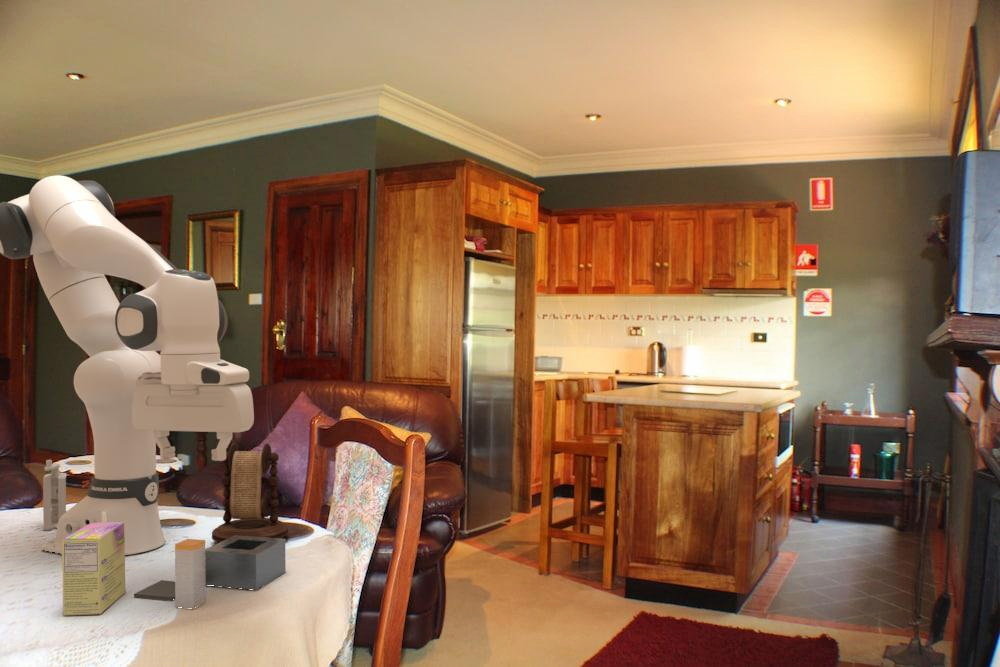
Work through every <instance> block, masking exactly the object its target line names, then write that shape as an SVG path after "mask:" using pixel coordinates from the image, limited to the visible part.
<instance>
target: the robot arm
mask: <svg viewBox="0 0 1000 667" xmlns="http://www.w3.org/2000/svg"><path fill="white" fill-rule="evenodd" d="M0 255H1V256H3V257H5V258H7V259H10V260H20V259H26V258H27V259H28V258H30V256H32V257H33V258H32V260H33V264H34V267H35V271H36V273H37V278H38V279H39V283H40V285H41V288H42V289H43V292H44V294H45V297H46V298H47V300H48V302H49V304H50V306H51V308H52V309H53V311H54V314H55V315H56V317H57V318H58V321H59V322H60V325H61V326H62V328H63V330H64V331H65V333H66V335H67V337H68V338H69V339H70V340H71V341H72V342H74V343H75V344H77V346H78V347H80V348H81V349H82V351H84V352H85V353H86V354H87V355H88V356H89V358H86V359H85V360H83V362H81V363H80V364H79V365H78V367H77V368H76V370H75V373H74V376H73V387H74V390H75V393H76V394H77V396H78V398H79V399H80V400H81V401H82V403H84V405H85V410H86V412H87V415H88V419H89V423H90V427H91V430H92V436H93V437H92V438H93V451H94V452H93V458H94V464H93V466H94V467H93V468H94V475H93V477H91V478H90V479H87V480H85V481H82V482H81V483H82V484H84V485H82V486H81V487H82V488H86V487H88V488H87V491H86V495H85V497H83V498H82V499H81V500H79V501H78V502H77V503H75V504H74V505H73V506H72V507H71V508H70V509H68V510H66V512H65V513H64V514H63V515H62V516H61V517H60V519H59V521H58V525H57V529H56V530H55V537H54V538H52V539H50V540H48V541H46V542H45V543H44V544H43V545H42V547H41V551H42V550H45V551H44V552H46V551H49V552H48V553H52V552H55V553H54V554H58V553H60V554H59V555H62V542H61V540H62V539H64V538H66V537H68V536H69V535H71V534H73V533H75V532H76V531H78V530H80V529H81V528H83V527H85V526H87V525H88V524H90V523H103V522H124V537H125V556H127V555H129V556H130V555H135V554H139V553H144V552H148V551H152V550H155V549H158V548H159V547H162V546H163V545H164V544H165V543H166V539H165V536H164V534H163V531H162V530H163V529H162V526H161V519H160V514H159V505H158V497H159V490H160V488H159V486H160V485H159V484H160V483H159V473H158V472H157V447H158V448H159V454H160V455H159V457H160V459H162V460H171V459H174V458H175V457H176V453H175V452H176V447H175V446H171V443H170V441H169V440H168V437H169V436H170V432H197V433H198V432H201V433H202V432H203V433H204V432H205V433H206V432H208V433H216V439H217V440H219V441H218V443H217V446H216V448H214V449H211V460H212V461H213V462H222V461H223V460H225V459H226V452H227V449H228V448H229V444H230V443H231V442H232V440H233V433H242V432H246V431H249V430H250V429H251V428H252V427H253V425H254V423H255V422H254V420H255V413H254V412H255V411H254V398H253V393H252V389H251V388H250V387H249V386H248V385H247V382H248V381H249V380H250V371H249V370H248V368H245V367H242V366H240V365H237V364H234V363H232V362H229V361H226V360H224V359H221V349H220V348H221V347H220V346H219V344H220V342H221V341H222V339H223V337H224V336H225V334H226V332H227V329H228V322H229V320H228V314H227V311H226V308H225V306H224V305H223V303H222V302H221V301H220V299H219V296H218V290H217V287H216V286H217V285H216V283H215V280H214V278H213V277H212V276H211V275H210V274H208V273H207V272H204V271H199V270H188V269H179V268H177V267H176V266H175V264H173V263H172V262H171V261H170V260H169V259H168V258H167V257H165V256H164V255H163V254H162V253H161V252H160V251H159V250H158V249H156V247H154V246H152V245H151V244H150V243H149V242H147V241H145V240H144V239H142V238H141V237H139V236H138V235H137V234H135V232H133V231H132V230H130V229H129V228H128V227H126V226H125V224H123V223H122V222H120V221H119V220H118V219H117V218H116V212H115V207H114V202H113V200H112V198H111V197H110V195H109V193H108V191H106V189H105V188H104V186H103V185H101V184H100V183H98V182H97V181H95V180H86V179H85V180H75V179H73V178H71V177H69V176H65V175H59V174H56V175H50V176H46V177H44V178H41V179H40V180H39V181H37V182H36V183H35V184H34V186H32V188H31V190H30V191H29V193H28V194H24V195H22V196H19V197H17V198H14V199H12V200H10V201H8V202H7V201H2V202H0ZM106 275H107V276H113V277H117V278H122V279H125V280H129V281H132V282H134V283H137V284H139V285H140V286H142V287H143V288H145V289H143V290H141V291H138V292H135V293H130V294H128V295H126V297H124V298H123V299H122V300H121V302H120V301H119V300H118V298H117V296H116V294H115V292H114V290H113V289H112V286H111V285H110V283H109V282H108V279H107V278H106ZM158 352H160V354H159V353H158ZM223 462H224V461H223Z"/></svg>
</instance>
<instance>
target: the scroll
mask: <svg viewBox="0 0 1000 667" xmlns="http://www.w3.org/2000/svg"><path fill="white" fill-rule="evenodd" d="M279 458H280V457H279V454H278V453H276V452H272V448H271V445H270V444H269V442H266V443H264V444H263V447H262V450H261V451H259V450H257V451H256V450H248V451H247V450H240V449H239V446H238V444H237V443H236V442H233V443H232V444H231V445H230V447H229V449H228V451H226V459H225V460H223V463H222V464H223V465H224V468H223V475H222V477H221V484H222V487H224V490H223V494H222V495H223V497H224V498H223V499H222V503H221V504H222V506H223V511H224V514H223V516H222V520H223V522H224V523H222V524H220V525H218V526H217V527H215V528H214V529H213V530H212V532H211V539H212V540H213V541H214V542H215V544H218V543H220V542H222V541H224V540H226V539H228V538H230V537H232V536H234V535H238V536H252V537H267V538H281V539H284V537H286V536H288V534H289V526H288V524H286V523H284V522H283V521H281V520H280V519H279V516H278V513H277V511H278V510H279V509H278V508H277V507H278V506H279V504H280V502H279V499H277V497H278V495H279V494H278V493H279V492H278V490H277V488H278V486H279V484H280V477H279V476H278V473H279V472H278V469H277V465H278V464H279V463H278V461H279ZM269 469H270V470H269ZM268 471H269V474H270V475H269V477H266V474H267V472H268ZM264 475H265V476H264ZM262 476H263V477H262ZM266 484H267V485H269V487H270V488H266V489H265V490H264V492H263V496H261V494H262V492H261V491H262V485H266ZM261 497H262V498H261ZM232 519H233V520H232Z"/></svg>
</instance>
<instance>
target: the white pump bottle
mask: <svg viewBox="0 0 1000 667" xmlns="http://www.w3.org/2000/svg"><path fill="white" fill-rule="evenodd" d="M60 467H61V464H60V463H53V461H52V459H46V460H45V466H44V467H43V468H44V471H46V472H49V471H50V473H48V474H44V476H43V479H42V483H43V484H42V485H43V486H42V489H43V490H42V495H43V496H42V503H43V505H42V506H43V509H42V511H43V513H42V514H43V515H42V516H43V531H44V530H46V531H51V530H53V529H54V528H57V525H58V521H59V519H60V517H61V516H62V515H63V514H64V513H65V512H67V473H66V472H61V471H60V469H59V468H60ZM54 530H55V529H54Z"/></svg>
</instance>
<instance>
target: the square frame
mask: <svg viewBox="0 0 1000 667" xmlns="http://www.w3.org/2000/svg"><path fill="white" fill-rule="evenodd" d="M285 573H286V538H267V537H252V536H238V535H234V536H232V537H230V538H228V539H226V540H224V541H222V542H220V543H218V544H216V543H215V544H214V545H211V546H209V547H208V548H205V582H206V585H214V586H222V587H231V588H242V589H253V590H257V589H258V588H260V587H261V588H263V587H264V586H263V585H265V584H266V585H267V583H268V584H269V583H271V582H273V581H274V580H275V579H278V578H279V577H281V576H282V575H284V574H285ZM272 580H273V581H272ZM270 581H271V582H270ZM266 585H265V586H266ZM262 586H263V587H262ZM261 588H260V589H261ZM253 590H252V591H253ZM258 590H259V589H258ZM258 590H257V591H258Z"/></svg>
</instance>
